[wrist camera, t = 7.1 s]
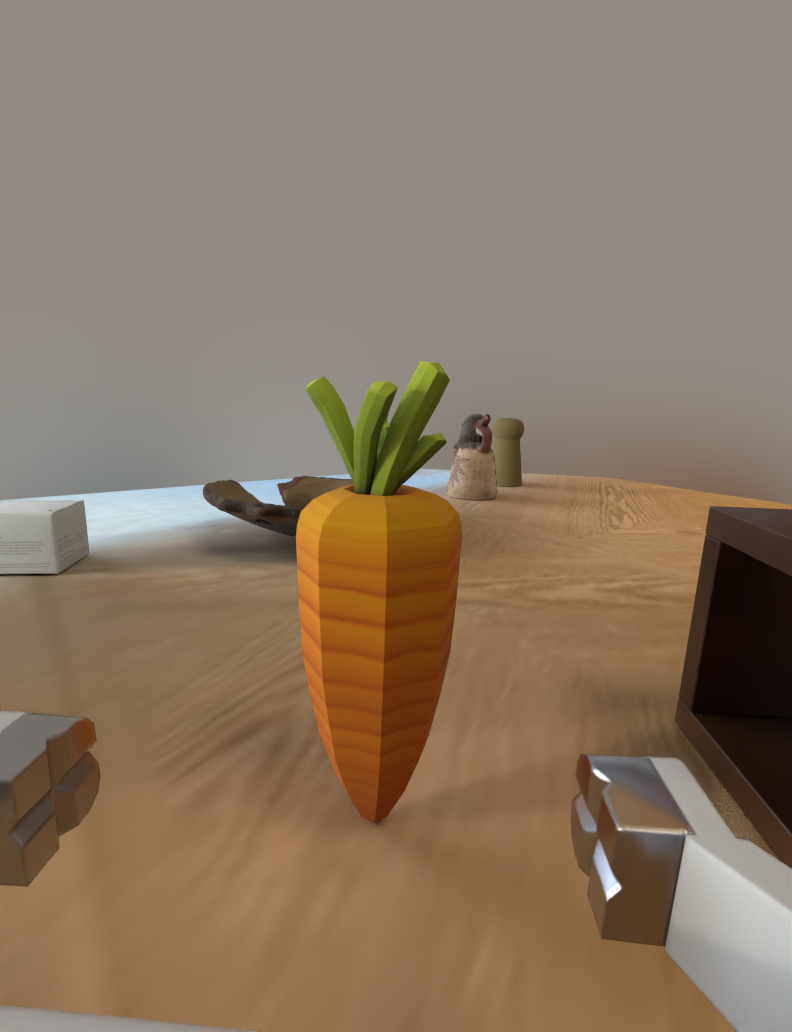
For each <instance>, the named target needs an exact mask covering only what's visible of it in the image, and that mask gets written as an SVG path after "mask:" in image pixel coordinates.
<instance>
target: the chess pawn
mask: <svg viewBox="0 0 792 1032" xmlns="http://www.w3.org/2000/svg"><path fill="white" fill-rule="evenodd" d="M492 432H493V435H494V437H495V441H494V446H493V453H494V457H495V465H496V477H497V486H504V487H516V486H521V485H522V476H521V456H520V438H521V437H522V435H523V432H524V425H523V423H522V421H520V420H517V419H511V418H502V419H498V420H496V421H495V422H494V424H493V426H492Z"/></svg>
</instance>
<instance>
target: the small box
mask: <svg viewBox="0 0 792 1032" xmlns="http://www.w3.org/2000/svg"><path fill="white" fill-rule="evenodd" d="M88 554H89V544H88V535H87V525H86V516H85V507H84V501H83V500H71V501H41V500H12V501H8V502H4V503H1V504H0V574H59V573H61V572H62V571H64V570H66V569H67V568H69V567H70V566H72V565H73V564H75V563H76V562H78V561H79V560H81V559H82V558H84V557H86V556H87V555H88Z"/></svg>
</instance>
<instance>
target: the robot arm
mask: <svg viewBox="0 0 792 1032" xmlns="http://www.w3.org/2000/svg"><path fill="white" fill-rule="evenodd" d="M96 741H97V740H96V733H95V727H94V723H93V722H92V721H90V720H89V719H88V718H84V717H74V716H63V715H53V714H42V713H28V712H18V711H0V885H8V886H26V887H28V885H29V884H30V883H31V882H32V881H33V879H34V878H35V877H36V876H37V875H38V873H39V872H40V871H41V870H42V869H43V867H44V866H45V865H46V864H47V863H48V861H49V860H50V859H51V858H52V857H53V855H54V854H55V853H56V852H57V851H58V849H59V836H60V835H62V834H64V833H66V832H68V831H69V830H71V829H73V828H75V827H76V826H78V825H79V824H80V823H81V821H82V820H83V819H84V818H85V816H86V815H87V814H88V812H89V811H90V809H91V807H92V805H93V802H94V800H95V798H96V796H97V793H98V789H99V782H100V768H99V763H98V762H97V760H96V759H95V758H94V757H93V755H92V754H91V753H90V752H89V751H90V749H91V748H92V746H93V745H94V743H95V742H96ZM576 778H577V781H578V784H579V787H580V789H581V792H580V793H579V794H578V795H577V796H576V797H575V798H574V799H573V800H572V811H571V833H572V842H573V847H574V852H575V856H576V859H577V862H578V866H579V868H580V869H581V870H582V871H583V872H584V873H585V874H586V875H588V876H589V877H590V878H589V886H588V893H587V895H588V898H589V901H590V904H591V907H592V910H593V913H594V917H595V920H596V923H597V926H598V929H599V932H600V935H601V938H602V939H606V940H615V941H623V942H631V943H639V944H647V945H656V946H664V947H665V951H666V952H667V953H668V954H669V955H670V956H671V958H672V959H673V960H674V961H675V962H676V963H677V964H678V966H679V967H680V968H681V969H682V970H683V971H684V972H685V973H686V975H687V976H688V977H689V978H690V979H691V980H692V981H693V982H694V984H695V985H696V986H697V987H698V988H699V989H700V990H701V991H702V993H703V994H704V995H705V996H706V997H707V998H708V999H709V1001H710V1002H711V1003H712V1004H713V1005H714V1006H715V1007H716V1008H717V1010H718V1011H719V1012H720V1013H721V1014H722V1015H723V1016H724V1017H725V1019H726V1020H727V1021H728V1022H729V1023H730V1024H731V1025H732V1026H733V1028H734V1029H735V1030H736V1031H737V1032H792V869H791V868H790V867H788V866H787V865H785V864H784V863H782V862H781V861H779V860H778V859H776V858H775V857H773V856H772V855H770V854H769V853H767V852H766V851H764V850H763V849H761V848H760V847H758V846H757V845H755V844H754V843H752V842H751V841H749V840H744V839H737V838H736V836H735V835H734V834H733V832H732V831H731V829H730V828H729V826H728V825H727V824H726V822H725V821H724V819H723V818H722V816H721V815H720V814H719V812H718V811H717V809H716V808H715V806H714V805H713V804H712V802H711V801H710V799H709V798H708V796H707V795H706V794H705V792H704V791H703V789H702V788H701V786H700V785H699V784H698V782H697V781H696V779H695V778H694V776H693V775H692V774H691V772H690V771H689V769H688V768H687V766H686V765H685V764H684V762H682V761H681V760H679V759H678V758H667V757H627V756H611V755H595V754H580V757H579V759H578V762H577V769H576ZM0 1032H261V1031H251V1030H242V1029H232V1028H223V1027H213V1026H203V1025H194V1024H184V1023H175V1022H165V1021H156V1020H146V1019H137V1018H127V1017H118V1016H108V1015H98V1014H89V1013H79V1012H70V1011H60V1010H51V1009H41V1008H32V1007H22V1006H13V1005H3V1004H0Z"/></svg>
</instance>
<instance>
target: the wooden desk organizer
mask: <svg viewBox="0 0 792 1032" xmlns="http://www.w3.org/2000/svg"><path fill="white" fill-rule="evenodd" d="M706 534H707V535H706V536H705V541H704V547H703V553H702V559H701V565H700V571H699V577H698V584H697V590H696V596H695V602H694V608H693V614H692V620H691V626H690V632H689V638H688V644H687V650H686V656H685V662H684V669H683V675H682V681H681V687H680V693H679V699H678V705H677V711H676V717H675V722H676V723H677V724H678V726H679V727H680V728H681V730H682V731H683V732H684V734H685V735H686V736H687V737H688V739H689V740H690V741H691V743H692V744H693V745H694V747H695V748H696V749H697V751H698V752H699V753H700V755H701V756H702V757H703V759H704V760H705V761H706V763H707V764H708V765H709V767H710V768H711V769H712V771H713V772H714V773H715V775H716V776H717V777H718V779H719V780H720V781H721V783H722V784H723V785H724V787H725V788H726V789H727V791H728V792H729V793H730V795H731V796H732V797H733V799H734V800H735V801H736V802H737V804H738V805H739V806H740V808H741V809H742V810H743V812H744V813H745V814H746V816H747V817H748V818H749V820H750V821H751V822H752V824H753V825H754V826H755V828H756V829H757V830H758V832H759V833H760V834H761V836H762V837H763V838H764V840H765V841H766V842H767V844H768V845H769V846H770V848H771V849H772V850H773V852H774V853H775V854H776V856H777V857H778V858H779V860H780V861H781V862H782V863H784V864H785V865H787V866H788V867H790V868H791V869H792V510H789V509H765V508H740V507H716V506H711V507H710V509H709V515H708V521H707V528H706Z"/></svg>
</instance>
